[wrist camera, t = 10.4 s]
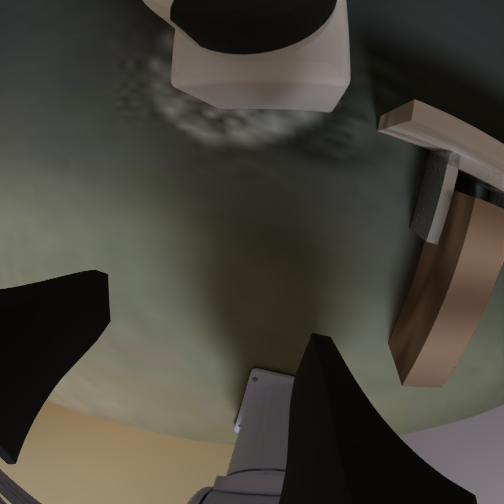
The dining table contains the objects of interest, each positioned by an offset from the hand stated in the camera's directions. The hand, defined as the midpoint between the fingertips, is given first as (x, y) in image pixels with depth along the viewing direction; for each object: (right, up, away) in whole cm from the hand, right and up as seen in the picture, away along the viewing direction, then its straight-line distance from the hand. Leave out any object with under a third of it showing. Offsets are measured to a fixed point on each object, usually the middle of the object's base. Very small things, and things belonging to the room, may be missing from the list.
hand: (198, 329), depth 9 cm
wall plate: (+16, +9, +5) cm, 19 cm away
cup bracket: (+16, +6, +6) cm, 18 cm away
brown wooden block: (+15, +1, +8) cm, 17 cm away
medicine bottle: (+3, +14, +6) cm, 16 cm away
